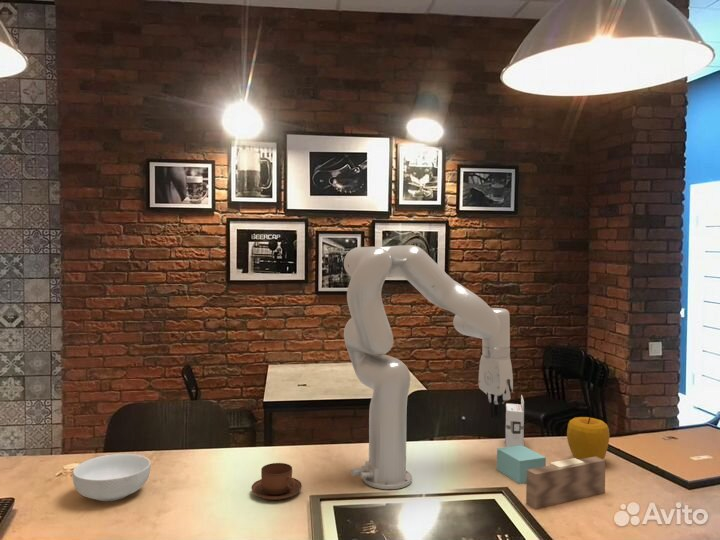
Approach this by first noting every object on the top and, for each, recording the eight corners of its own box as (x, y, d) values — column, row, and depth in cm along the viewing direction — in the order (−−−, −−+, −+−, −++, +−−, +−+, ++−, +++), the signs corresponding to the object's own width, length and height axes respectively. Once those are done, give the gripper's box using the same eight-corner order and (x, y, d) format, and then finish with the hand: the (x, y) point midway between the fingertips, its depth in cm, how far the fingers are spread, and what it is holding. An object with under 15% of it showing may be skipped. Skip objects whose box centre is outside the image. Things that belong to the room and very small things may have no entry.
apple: (565, 466, 155) (566, 420, 154) (567, 453, 165) (568, 410, 164) (609, 472, 151) (610, 424, 150) (608, 459, 161) (609, 414, 160)
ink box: (505, 440, 177) (505, 393, 176) (521, 441, 176) (522, 394, 175) (506, 449, 168) (507, 400, 168) (523, 450, 167) (524, 401, 167)
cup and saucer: (309, 487, 140) (309, 463, 140) (288, 507, 128) (288, 481, 128) (266, 481, 144) (266, 457, 144) (241, 500, 132) (241, 474, 132)
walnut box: (535, 509, 128) (535, 471, 128) (525, 503, 131) (526, 467, 131) (605, 492, 138) (605, 457, 137) (594, 488, 140) (595, 453, 140)
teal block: (519, 484, 143) (519, 461, 143) (496, 470, 152) (497, 448, 152) (545, 480, 146) (545, 457, 145) (521, 466, 155) (522, 445, 155)
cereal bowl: (73, 516, 123) (72, 484, 123) (72, 488, 138) (72, 459, 138) (155, 501, 131) (155, 471, 131) (146, 476, 146) (146, 449, 146)
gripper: (469, 349, 163) (469, 412, 164) (502, 358, 150) (503, 426, 150) (490, 347, 166) (490, 408, 167) (524, 355, 153) (525, 422, 154)
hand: (496, 416), depth 159 cm, fingers closed
